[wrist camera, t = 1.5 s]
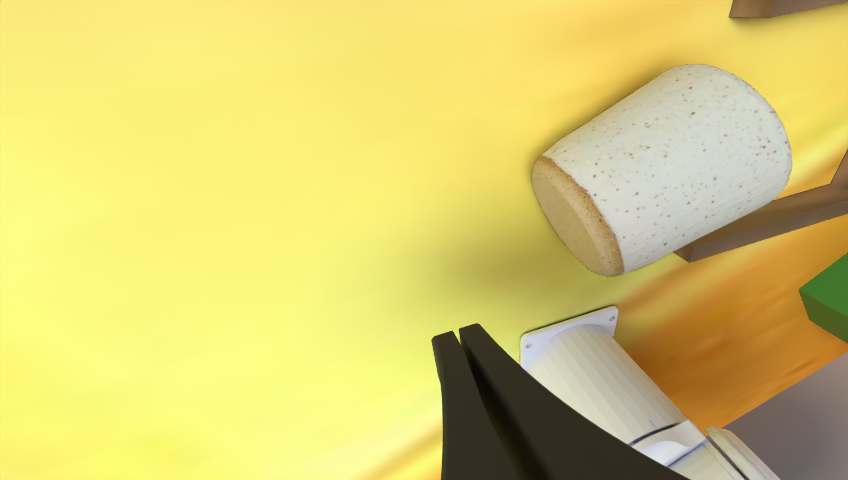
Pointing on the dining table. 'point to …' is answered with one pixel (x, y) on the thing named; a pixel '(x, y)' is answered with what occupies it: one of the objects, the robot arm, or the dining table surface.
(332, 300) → the dining table surface
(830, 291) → the hardback book
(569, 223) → the ceramic mug
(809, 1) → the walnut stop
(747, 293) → the dining table surface
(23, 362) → the dining table surface
